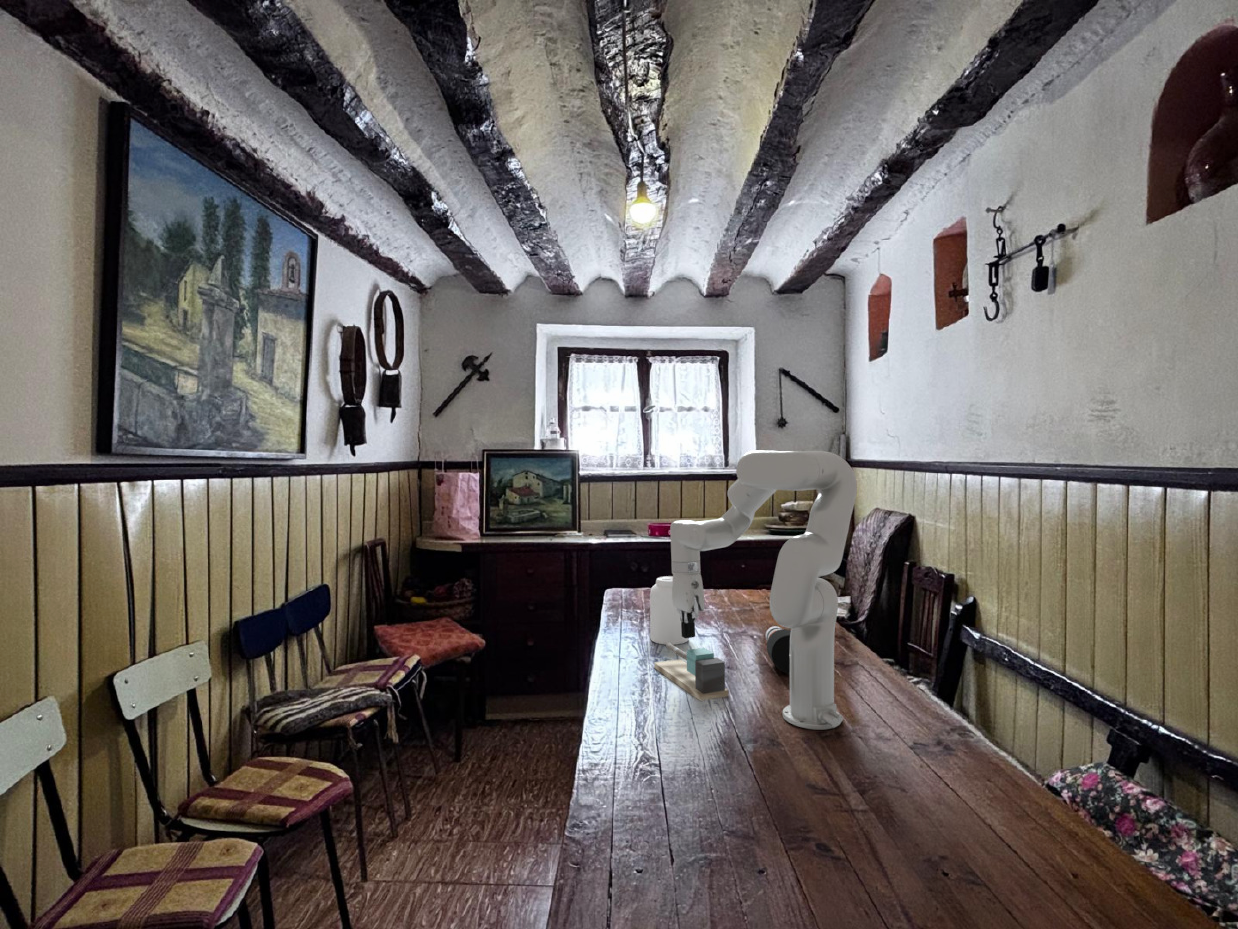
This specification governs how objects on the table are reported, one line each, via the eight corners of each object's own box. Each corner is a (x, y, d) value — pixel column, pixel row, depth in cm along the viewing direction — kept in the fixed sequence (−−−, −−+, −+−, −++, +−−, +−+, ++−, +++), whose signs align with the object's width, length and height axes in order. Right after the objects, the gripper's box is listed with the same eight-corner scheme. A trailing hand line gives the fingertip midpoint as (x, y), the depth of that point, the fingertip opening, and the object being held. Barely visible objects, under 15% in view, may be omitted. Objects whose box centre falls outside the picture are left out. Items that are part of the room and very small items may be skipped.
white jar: (646, 644, 203) (646, 580, 203) (654, 633, 215) (653, 573, 215) (686, 647, 200) (686, 582, 200) (691, 636, 212) (691, 575, 212)
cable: (780, 655, 206) (794, 626, 206) (799, 681, 172) (816, 646, 172) (751, 639, 207) (765, 611, 208) (764, 662, 173) (781, 628, 174)
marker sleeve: (713, 674, 163) (713, 653, 163) (696, 676, 161) (696, 655, 161) (704, 668, 167) (704, 647, 167) (686, 670, 166) (686, 650, 165)
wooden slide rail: (728, 696, 159) (728, 661, 159) (699, 700, 156) (699, 665, 156) (680, 664, 183) (679, 634, 183) (654, 668, 180) (654, 637, 180)
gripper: (712, 569, 165) (715, 641, 165) (685, 563, 179) (687, 629, 179) (686, 572, 163) (689, 645, 162) (660, 565, 177) (663, 632, 176)
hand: (688, 637), depth 171 cm, fingers closed
